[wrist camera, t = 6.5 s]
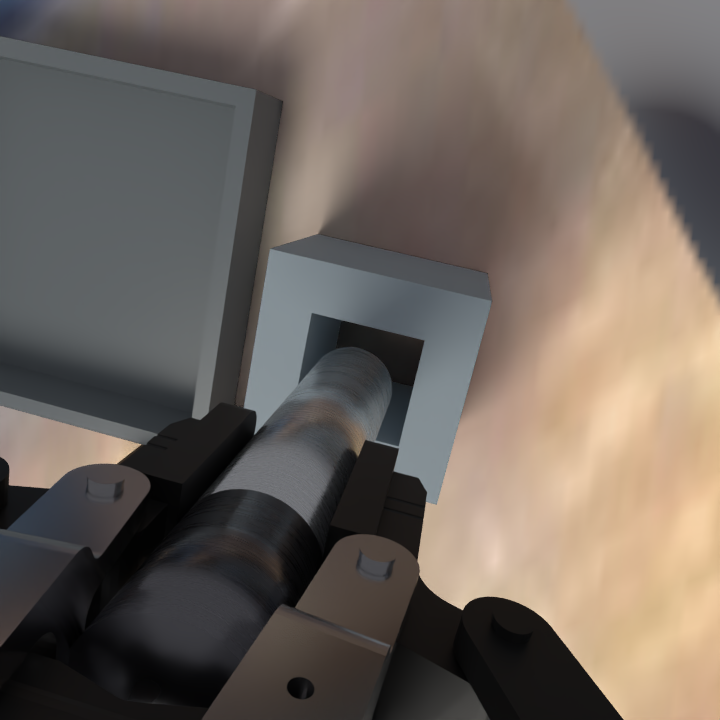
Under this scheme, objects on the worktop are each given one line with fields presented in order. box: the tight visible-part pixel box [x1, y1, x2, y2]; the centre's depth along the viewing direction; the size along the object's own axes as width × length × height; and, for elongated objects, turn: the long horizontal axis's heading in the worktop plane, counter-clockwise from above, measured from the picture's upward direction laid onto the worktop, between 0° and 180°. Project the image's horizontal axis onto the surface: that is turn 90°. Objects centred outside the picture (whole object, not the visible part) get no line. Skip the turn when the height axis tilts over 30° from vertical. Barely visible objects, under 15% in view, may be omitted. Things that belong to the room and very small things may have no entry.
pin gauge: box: [68, 347, 392, 708], centre depth 13 cm, size 2×2×12 cm
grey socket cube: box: [244, 234, 492, 505], centre depth 22 cm, size 6×6×6 cm
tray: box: [0, 36, 283, 445], centre depth 24 cm, size 13×13×3 cm
